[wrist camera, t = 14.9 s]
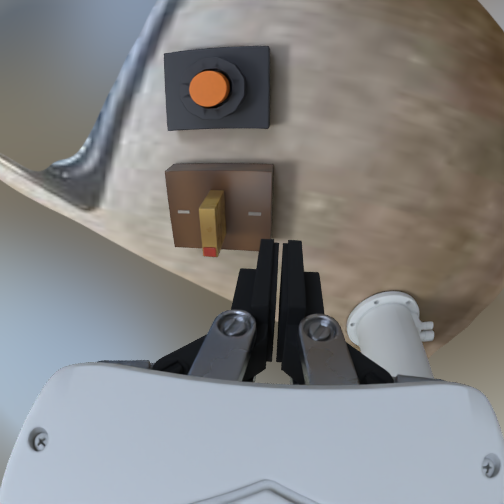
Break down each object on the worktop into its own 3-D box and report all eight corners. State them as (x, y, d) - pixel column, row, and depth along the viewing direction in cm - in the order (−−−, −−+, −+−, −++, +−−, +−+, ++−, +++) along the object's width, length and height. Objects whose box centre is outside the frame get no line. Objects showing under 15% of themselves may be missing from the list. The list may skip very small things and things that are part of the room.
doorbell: (270, 48, 26) (268, 43, 22) (269, 125, 31) (267, 131, 27) (170, 54, 27) (157, 52, 23) (174, 127, 32) (161, 134, 28)
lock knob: (210, 189, 32) (197, 209, 28) (224, 190, 32) (214, 209, 28) (213, 233, 35) (202, 257, 31) (226, 233, 35) (217, 258, 31)
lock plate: (273, 164, 33) (272, 172, 30) (271, 239, 38) (270, 252, 36) (173, 163, 34) (163, 171, 31) (181, 235, 39) (174, 247, 37)
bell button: (229, 70, 25) (226, 69, 23) (230, 104, 26) (227, 106, 25) (193, 72, 25) (188, 72, 23) (194, 106, 27) (189, 107, 25)
